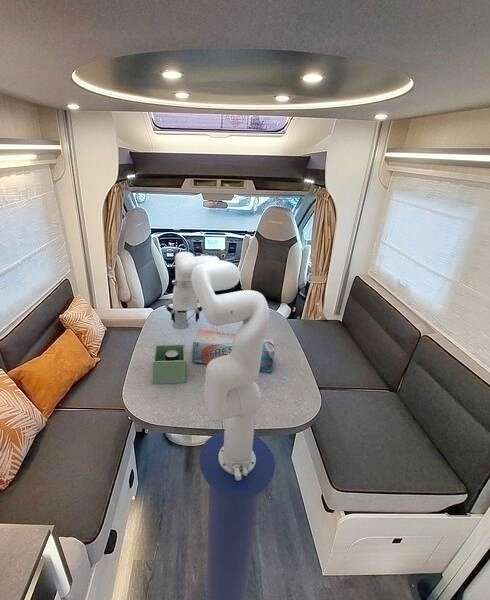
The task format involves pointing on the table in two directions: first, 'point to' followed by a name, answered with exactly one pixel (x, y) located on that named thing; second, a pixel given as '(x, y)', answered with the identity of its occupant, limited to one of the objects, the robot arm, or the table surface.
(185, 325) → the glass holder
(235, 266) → the robot arm
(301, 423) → the table surface
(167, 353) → the beverage can
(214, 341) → the soda box
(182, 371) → the trash bin
